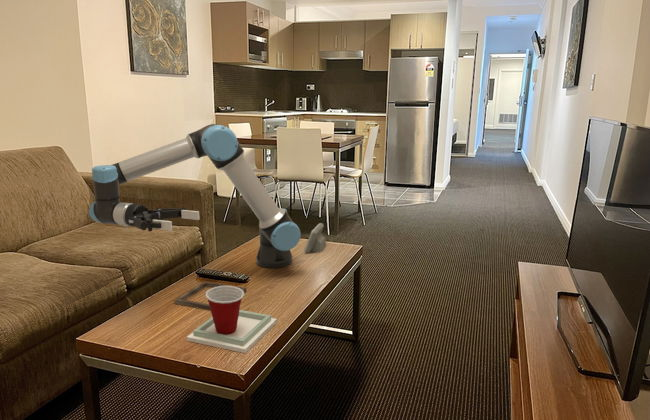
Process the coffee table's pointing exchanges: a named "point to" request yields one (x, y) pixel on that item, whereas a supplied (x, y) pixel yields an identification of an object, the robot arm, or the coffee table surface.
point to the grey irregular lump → (316, 240)
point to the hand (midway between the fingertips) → (185, 220)
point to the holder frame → (182, 299)
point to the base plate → (242, 339)
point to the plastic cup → (225, 307)
